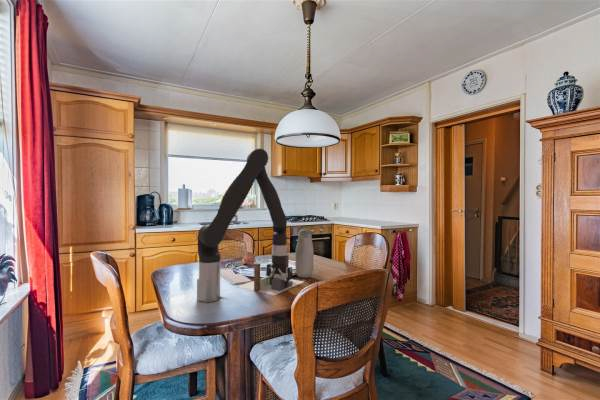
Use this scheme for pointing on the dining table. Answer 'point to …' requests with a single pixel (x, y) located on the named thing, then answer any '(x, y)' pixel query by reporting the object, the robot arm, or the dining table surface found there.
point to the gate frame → (257, 275)
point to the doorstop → (279, 283)
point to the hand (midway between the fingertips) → (279, 286)
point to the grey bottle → (304, 254)
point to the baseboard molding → (233, 277)
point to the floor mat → (269, 287)
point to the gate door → (267, 281)
